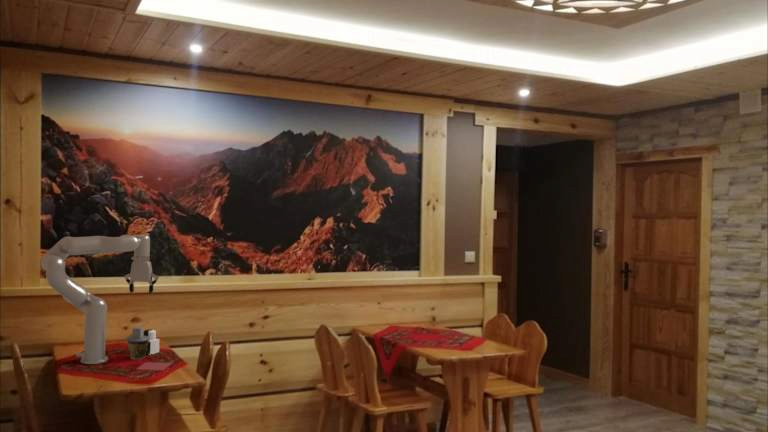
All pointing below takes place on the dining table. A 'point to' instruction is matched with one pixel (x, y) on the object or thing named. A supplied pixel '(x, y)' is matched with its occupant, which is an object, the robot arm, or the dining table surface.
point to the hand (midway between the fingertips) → (141, 292)
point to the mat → (154, 366)
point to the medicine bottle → (152, 342)
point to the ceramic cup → (137, 349)
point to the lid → (137, 335)
